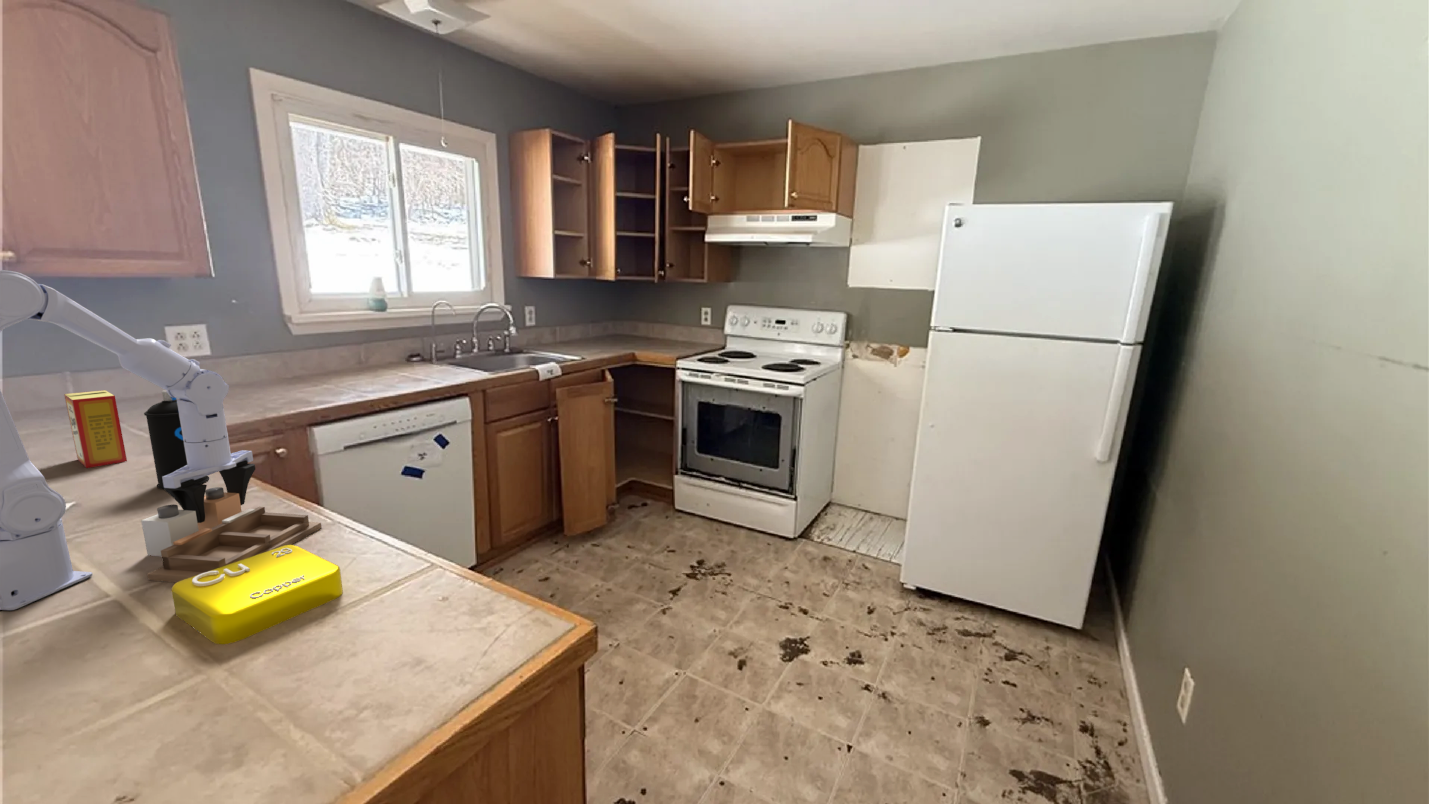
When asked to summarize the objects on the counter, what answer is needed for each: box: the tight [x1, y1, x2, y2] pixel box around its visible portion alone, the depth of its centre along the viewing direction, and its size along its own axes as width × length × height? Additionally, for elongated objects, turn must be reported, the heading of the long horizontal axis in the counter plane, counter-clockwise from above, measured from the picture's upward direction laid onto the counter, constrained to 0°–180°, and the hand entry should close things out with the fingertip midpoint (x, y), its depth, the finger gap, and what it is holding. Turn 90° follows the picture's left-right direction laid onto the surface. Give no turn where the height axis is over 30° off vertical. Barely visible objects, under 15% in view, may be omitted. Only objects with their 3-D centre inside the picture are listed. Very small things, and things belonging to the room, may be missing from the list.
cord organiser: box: [146, 506, 322, 583], centre depth 93 cm, size 20×11×4 cm, turn 176°
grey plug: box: [140, 504, 199, 557], centre depth 92 cm, size 4×4×7 cm
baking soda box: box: [63, 389, 128, 469], centre depth 131 cm, size 10×6×16 cm
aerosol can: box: [143, 389, 210, 490], centre depth 119 cm, size 8×8×20 cm
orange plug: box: [198, 486, 242, 531], centre depth 100 cm, size 4×4×7 cm
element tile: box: [171, 544, 344, 645], centre depth 79 cm, size 15×15×5 cm
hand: (218, 512), depth 100 cm, fingers open, 7 cm apart
